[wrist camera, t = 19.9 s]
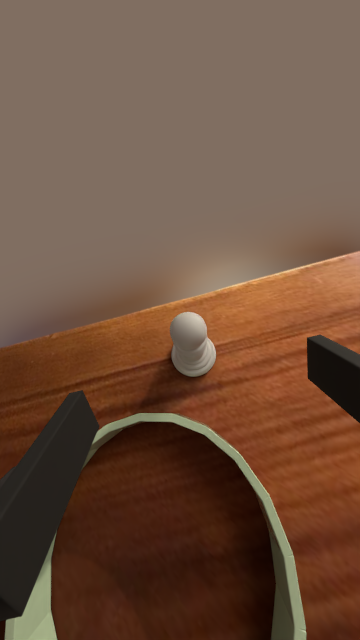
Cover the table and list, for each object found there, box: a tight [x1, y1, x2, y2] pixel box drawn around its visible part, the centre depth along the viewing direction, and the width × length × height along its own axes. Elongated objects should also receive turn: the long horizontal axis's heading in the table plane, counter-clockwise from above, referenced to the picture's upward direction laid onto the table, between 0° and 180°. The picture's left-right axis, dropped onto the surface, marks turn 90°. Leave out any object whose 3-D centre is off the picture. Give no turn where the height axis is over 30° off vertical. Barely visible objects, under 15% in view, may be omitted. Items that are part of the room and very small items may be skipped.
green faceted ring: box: [5, 413, 306, 640], centre depth 15 cm, size 20×20×4 cm
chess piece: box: [170, 312, 216, 377], centre depth 20 cm, size 5×5×9 cm
